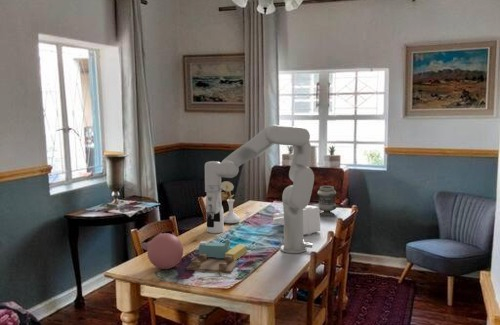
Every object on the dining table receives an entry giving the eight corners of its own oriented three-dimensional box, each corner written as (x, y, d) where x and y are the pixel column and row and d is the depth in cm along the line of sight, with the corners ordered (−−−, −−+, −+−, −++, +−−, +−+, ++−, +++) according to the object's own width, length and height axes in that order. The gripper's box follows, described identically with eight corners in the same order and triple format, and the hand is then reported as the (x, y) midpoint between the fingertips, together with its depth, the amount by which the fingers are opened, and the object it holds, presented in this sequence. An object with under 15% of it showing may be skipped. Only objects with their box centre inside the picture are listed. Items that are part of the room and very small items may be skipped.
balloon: (153, 258, 210) (151, 226, 207) (190, 264, 202) (189, 231, 199) (132, 270, 196) (130, 235, 193) (171, 276, 188) (169, 241, 185)
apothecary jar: (317, 212, 292) (317, 184, 289) (336, 212, 290) (336, 185, 288) (317, 216, 280) (317, 188, 278) (337, 217, 278) (337, 188, 276)
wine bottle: (216, 234, 245) (214, 180, 241) (203, 231, 251) (201, 179, 247) (227, 230, 253) (226, 178, 249) (214, 228, 259) (213, 176, 254)
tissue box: (295, 223, 272) (328, 230, 249) (262, 230, 258) (294, 239, 235) (294, 199, 271) (327, 204, 248) (261, 205, 257) (292, 211, 234)
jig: (238, 263, 202) (237, 255, 202) (231, 273, 190) (230, 265, 190) (195, 260, 206) (195, 252, 206) (186, 269, 195) (186, 262, 194)
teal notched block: (230, 255, 213) (230, 238, 212) (228, 258, 208) (228, 241, 207) (202, 254, 215) (201, 237, 214) (199, 257, 211) (198, 240, 209)
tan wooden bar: (246, 253, 216) (246, 245, 215) (233, 263, 203) (233, 254, 203) (238, 252, 218) (238, 244, 217) (225, 261, 205) (224, 253, 204)
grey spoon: (244, 221, 272) (243, 180, 269) (233, 225, 262) (232, 183, 259) (226, 218, 279) (225, 179, 275) (215, 223, 269) (214, 181, 266)
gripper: (215, 192, 198) (215, 229, 200) (226, 185, 215) (226, 220, 217) (199, 191, 200) (199, 228, 202) (211, 184, 216) (211, 219, 219)
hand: (213, 224), depth 210 cm, fingers open, 9 cm apart
